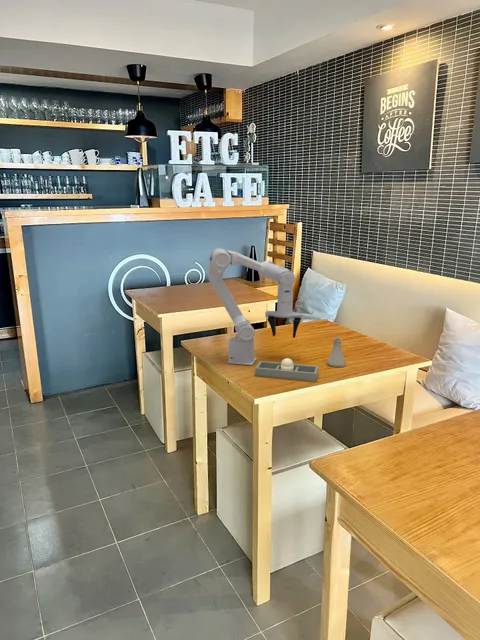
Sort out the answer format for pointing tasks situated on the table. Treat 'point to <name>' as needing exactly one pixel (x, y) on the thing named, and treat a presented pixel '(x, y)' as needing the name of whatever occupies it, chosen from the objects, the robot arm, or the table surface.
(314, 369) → the gray compartment tray
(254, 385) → the table surface
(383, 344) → the table surface
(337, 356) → the flask
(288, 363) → the beige domed cylinder
